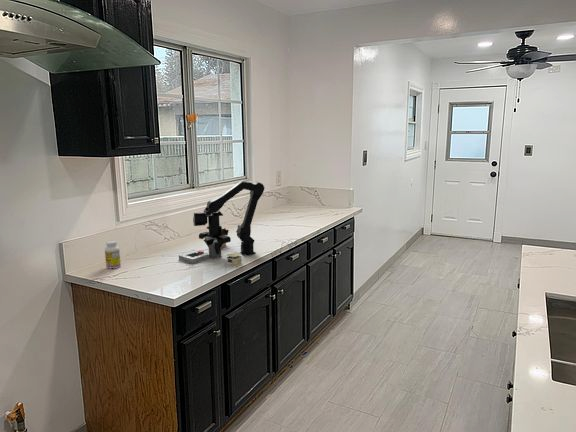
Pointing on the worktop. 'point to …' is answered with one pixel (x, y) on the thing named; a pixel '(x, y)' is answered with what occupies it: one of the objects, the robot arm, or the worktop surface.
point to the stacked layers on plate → (234, 259)
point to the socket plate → (194, 257)
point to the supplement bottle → (112, 255)
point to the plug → (213, 252)
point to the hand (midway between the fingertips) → (215, 253)
